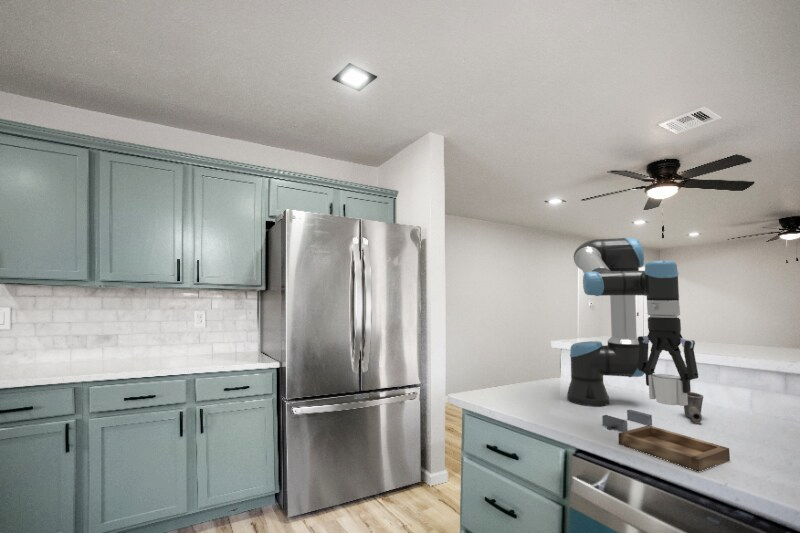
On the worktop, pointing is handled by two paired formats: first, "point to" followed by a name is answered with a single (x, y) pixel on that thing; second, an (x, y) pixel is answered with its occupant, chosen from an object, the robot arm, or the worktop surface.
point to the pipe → (694, 406)
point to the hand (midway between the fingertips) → (668, 401)
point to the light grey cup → (666, 389)
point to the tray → (675, 447)
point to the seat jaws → (622, 424)
